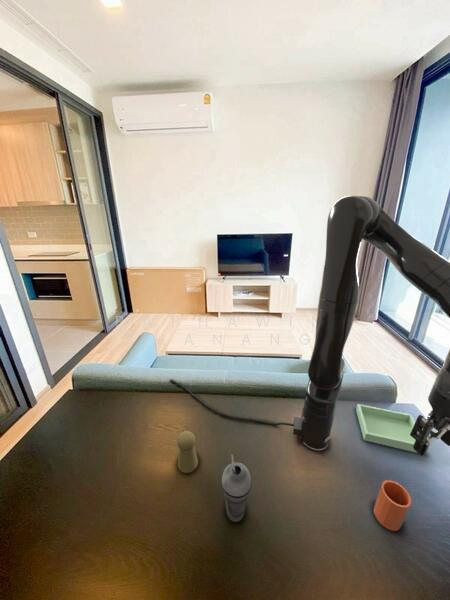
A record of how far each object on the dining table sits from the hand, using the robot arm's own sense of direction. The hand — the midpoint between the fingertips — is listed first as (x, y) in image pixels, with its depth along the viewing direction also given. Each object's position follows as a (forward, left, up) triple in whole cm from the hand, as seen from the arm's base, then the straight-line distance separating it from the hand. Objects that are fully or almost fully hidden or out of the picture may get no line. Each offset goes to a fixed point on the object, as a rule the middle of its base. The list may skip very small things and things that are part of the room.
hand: (432, 447), depth 56 cm
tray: (+2, +25, -22) cm, 33 cm away
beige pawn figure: (-60, -6, -22) cm, 64 cm away
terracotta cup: (-6, -4, -22) cm, 23 cm away
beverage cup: (-43, -14, -22) cm, 50 cm away
